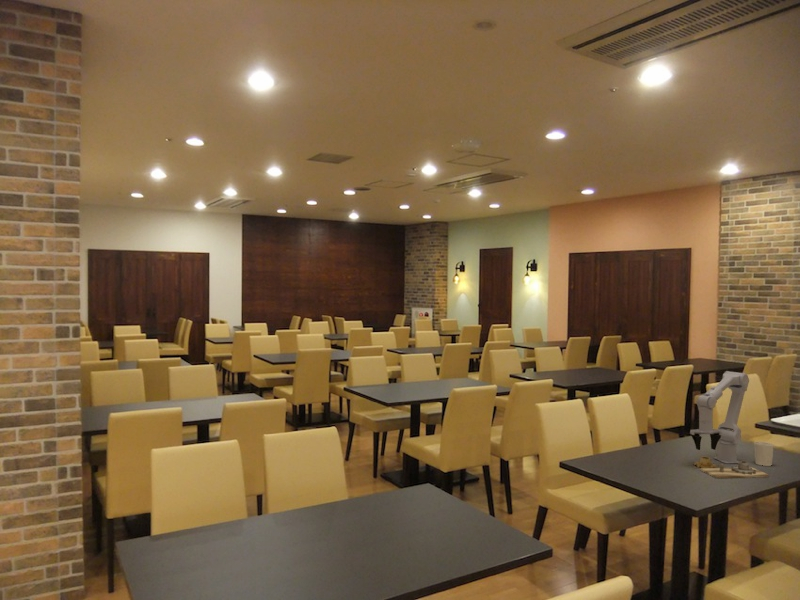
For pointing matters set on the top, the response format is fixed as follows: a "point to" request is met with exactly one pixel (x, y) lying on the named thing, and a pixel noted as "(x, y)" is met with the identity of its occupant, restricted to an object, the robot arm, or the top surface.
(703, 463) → the brass gear
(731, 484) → the top surface
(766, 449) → the white cup
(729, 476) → the gear board
